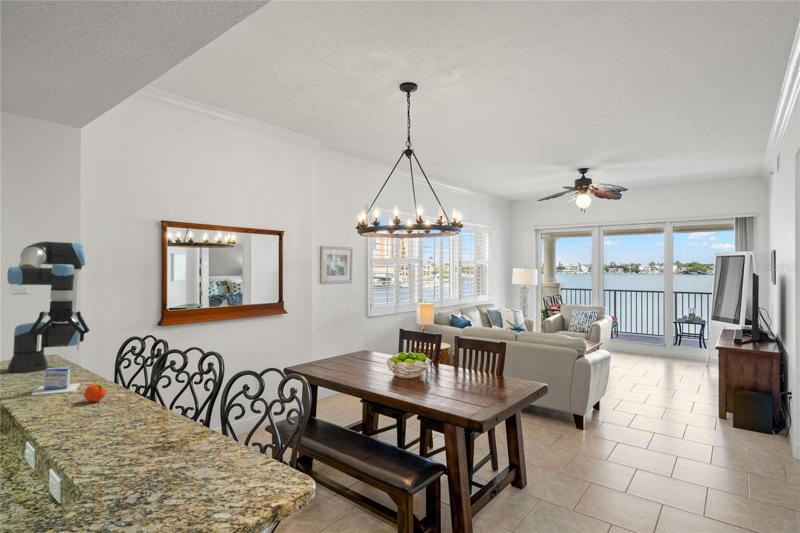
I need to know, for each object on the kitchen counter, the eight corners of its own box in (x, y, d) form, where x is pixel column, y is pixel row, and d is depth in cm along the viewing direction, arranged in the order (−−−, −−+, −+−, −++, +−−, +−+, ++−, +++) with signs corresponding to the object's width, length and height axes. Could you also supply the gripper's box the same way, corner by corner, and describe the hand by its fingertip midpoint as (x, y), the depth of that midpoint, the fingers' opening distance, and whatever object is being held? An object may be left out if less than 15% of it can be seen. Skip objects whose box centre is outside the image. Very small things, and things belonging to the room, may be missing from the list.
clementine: (112, 399, 170) (113, 381, 170) (98, 404, 163) (99, 386, 163) (93, 398, 171) (94, 380, 171) (79, 403, 164) (79, 384, 164)
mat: (40, 387, 184) (40, 385, 184) (80, 384, 190) (80, 383, 190) (30, 395, 171) (30, 394, 171) (73, 392, 178) (74, 391, 178)
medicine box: (43, 390, 177) (44, 369, 177) (47, 387, 181) (48, 367, 181) (67, 388, 181) (68, 368, 181) (69, 386, 185) (70, 366, 185)
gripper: (98, 299, 191) (96, 347, 191) (26, 299, 179) (23, 349, 179) (95, 300, 184) (93, 350, 184) (20, 300, 173) (18, 353, 172)
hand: (59, 350), depth 181 cm, fingers open, 13 cm apart
